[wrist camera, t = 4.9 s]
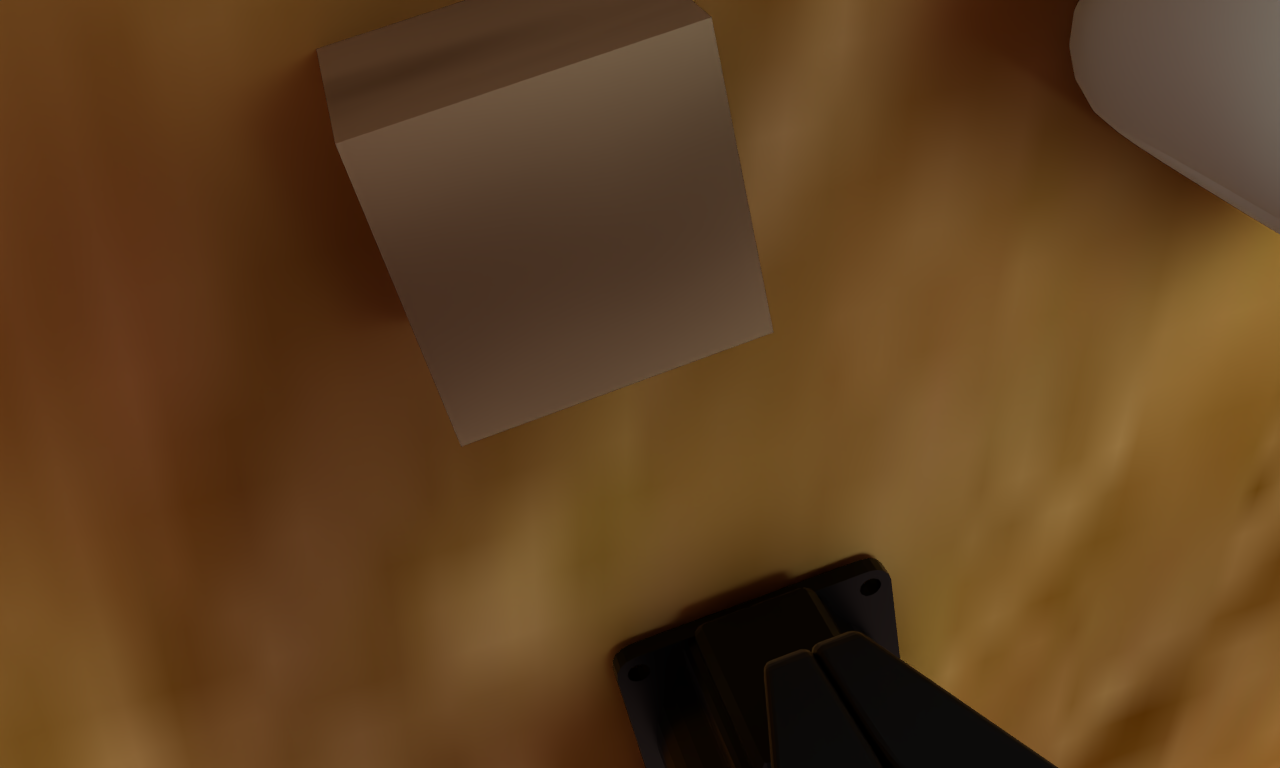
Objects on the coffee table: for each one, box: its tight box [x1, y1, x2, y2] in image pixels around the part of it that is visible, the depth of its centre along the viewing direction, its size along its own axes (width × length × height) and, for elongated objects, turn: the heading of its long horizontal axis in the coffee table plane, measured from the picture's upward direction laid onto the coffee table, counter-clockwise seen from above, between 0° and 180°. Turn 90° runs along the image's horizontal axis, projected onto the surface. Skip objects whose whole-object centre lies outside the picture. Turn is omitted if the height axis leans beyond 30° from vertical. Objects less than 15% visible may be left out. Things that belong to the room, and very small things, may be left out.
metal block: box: [316, 0, 773, 447], centre depth 18 cm, size 5×5×4 cm
